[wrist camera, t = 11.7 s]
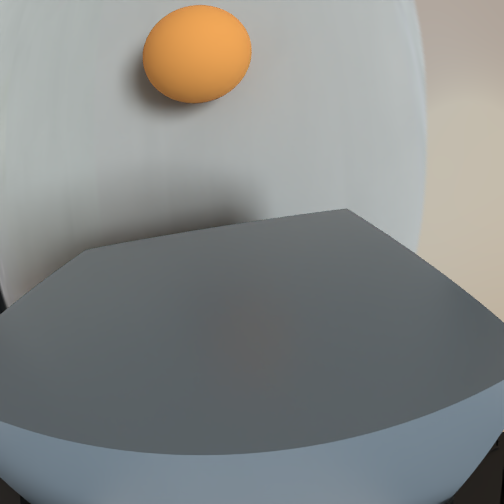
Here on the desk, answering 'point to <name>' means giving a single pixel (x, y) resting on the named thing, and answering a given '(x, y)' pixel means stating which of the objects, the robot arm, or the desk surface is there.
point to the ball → (197, 54)
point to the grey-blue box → (249, 371)
